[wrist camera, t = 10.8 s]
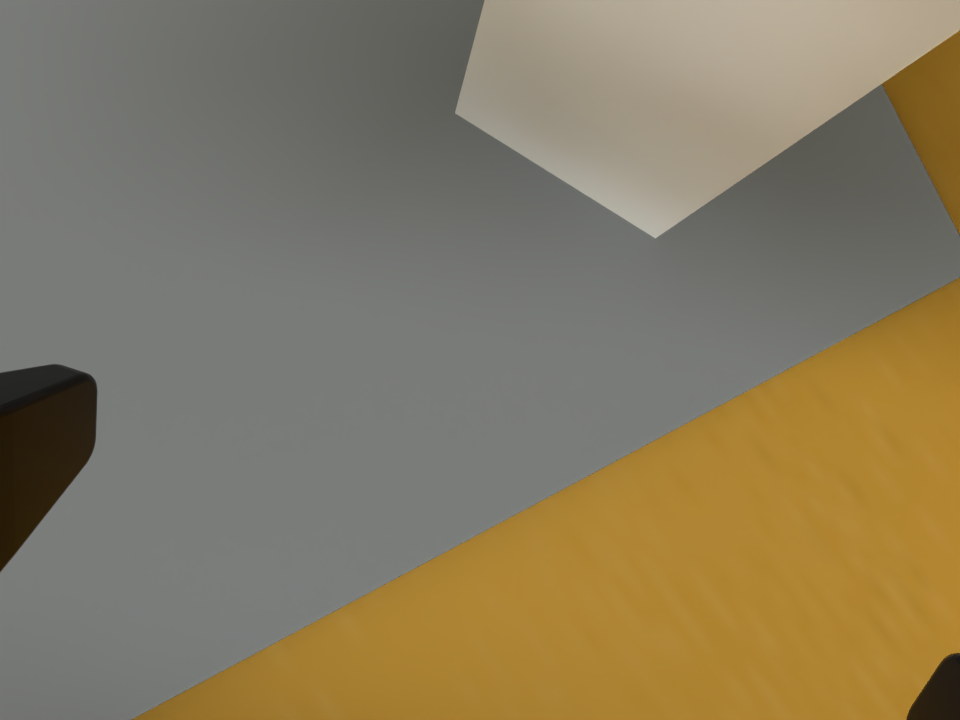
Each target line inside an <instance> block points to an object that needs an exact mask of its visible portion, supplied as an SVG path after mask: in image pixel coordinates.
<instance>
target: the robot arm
mask: <svg viewBox="0 0 960 720" xmlns="http://www.w3.org/2000/svg"><path fill="white" fill-rule="evenodd" d="M97 393H98V391H97V383H96V380H95V379H94V378H93V377H92V376H91V375H90V374H88V373H85V372H82V371H79V370H76V369H73V368H70V367H67V366H64V365H60V364H49V365H43V366H37V367H31V368H25V369H19V370H13V371H7V372H1V373H0V572H1V571H2V570H3V568H4V567H5V566H6V565H7V564H8V563H9V561H10V560H11V559H12V558H13V557H14V555H15V554H16V553H17V552H18V550H19V549H20V548H21V547H22V545H23V544H24V543H25V541H26V540H27V539H28V538H29V536H30V535H31V534H32V533H33V531H34V530H35V529H36V527H37V526H38V525H39V524H40V522H41V521H42V520H43V519H44V517H45V516H46V515H47V513H48V512H49V511H50V510H51V508H52V507H53V506H54V505H55V503H56V502H57V501H58V499H59V498H60V497H61V496H62V494H63V493H64V492H65V491H66V489H67V488H68V487H69V485H70V484H71V483H72V482H73V480H74V479H75V478H76V477H77V475H78V474H79V473H80V471H81V470H82V469H83V468H84V466H85V465H86V464H87V462H88V461H89V459H90V457H91V455H92V453H93V450H94V447H95V442H96V423H97ZM907 720H960V653H955V654H950V655H949V656H947V657H946V658H944V659H943V661H942V662H941V663H940V664H939V666H938V667H937V669H936V670H935V672H934V673H933V675H932V676H931V678H930V679H929V681H928V682H927V684H926V685H925V687H924V688H923V690H922V691H921V693H920V694H919V696H918V697H917V699H916V700H915V702H914V703H913V705H912V706H911V708H910V710H909V713H908V716H907Z"/></svg>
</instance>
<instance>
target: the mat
mask: <svg viewBox="0 0 960 720" xmlns="http://www.w3.org/2000/svg"><path fill="white" fill-rule="evenodd" d="M484 1H485V0H0V373H1V372H7V371H13V370H19V369H25V368H31V367H37V366H43V365H49V364H60V365H64V366H67V367H70V368H73V369H76V370H79V371H82V372H85V373H88V374H90V375H91V376H92V377H93V378H94V379H95V380H96V383H97V391H98V393H97V423H96V442H95V447H94V450H93V453H92V455H91V457H90V459H89V461H88V462H87V464H86V465H85V466H84V468H83V469H82V470H81V471H80V473H79V474H78V475H77V477H76V478H75V479H74V480H73V482H72V483H71V484H70V485H69V487H68V488H67V489H66V491H65V492H64V493H63V494H62V496H61V497H60V498H59V499H58V501H57V502H56V503H55V505H54V506H53V507H52V508H51V510H50V511H49V512H48V513H47V515H46V516H45V517H44V519H43V520H42V521H41V522H40V524H39V525H38V526H37V527H36V529H35V530H34V531H33V533H32V534H31V535H30V536H29V538H28V539H27V540H26V541H25V543H24V544H23V545H22V547H21V548H20V549H19V550H18V552H17V553H16V554H15V555H14V557H13V558H12V559H11V560H10V561H9V563H8V564H7V565H6V566H5V567H4V568H3V570H2V571H1V572H0V720H132V719H133V718H135V717H137V716H139V715H141V714H143V713H145V712H147V711H148V710H150V709H152V708H154V707H156V706H158V705H160V704H162V703H163V702H165V701H167V700H169V699H171V698H173V697H175V696H177V695H178V694H180V693H182V692H184V691H186V690H188V689H190V688H192V687H193V686H195V685H197V684H199V683H201V682H203V681H205V680H207V679H208V678H210V677H212V676H214V675H216V674H218V673H220V672H222V671H223V670H225V669H227V668H229V667H231V666H233V665H235V664H237V663H238V662H240V661H242V660H244V659H246V658H248V657H250V656H252V655H253V654H255V653H257V652H259V651H261V650H263V649H265V648H267V647H268V646H270V645H272V644H274V643H276V642H278V641H280V640H281V639H283V638H285V637H287V636H289V635H291V634H293V633H295V632H296V631H298V630H300V629H302V628H304V627H306V626H308V625H310V624H311V623H313V622H315V621H317V620H319V619H321V618H323V617H325V616H326V615H328V614H330V613H332V612H334V611H336V610H338V609H340V608H341V607H343V606H345V605H347V604H349V603H351V602H353V601H355V600H356V599H358V598H360V597H362V596H364V595H366V594H368V593H370V592H371V591H373V590H375V589H377V588H379V587H381V586H383V585H385V584H386V583H388V582H390V581H392V580H394V579H396V578H398V577H400V576H401V575H403V574H405V573H407V572H409V571H411V570H413V569H415V568H416V567H418V566H420V565H422V564H424V563H426V562H428V561H430V560H431V559H433V558H435V557H437V556H439V555H441V554H443V553H444V552H446V551H448V550H450V549H452V548H454V547H456V546H458V545H459V544H461V543H463V542H465V541H467V540H469V539H471V538H473V537H474V536H476V535H478V534H480V533H482V532H484V531H486V530H488V529H489V528H491V527H493V526H495V525H497V524H499V523H501V522H503V521H504V520H506V519H508V518H510V517H512V516H514V515H516V514H518V513H519V512H521V511H523V510H525V509H527V508H529V507H531V506H533V505H534V504H536V503H538V502H540V501H542V500H544V499H546V498H548V497H549V496H551V495H553V494H555V493H557V492H559V491H561V490H563V489H564V488H566V487H568V486H570V485H572V484H574V483H576V482H578V481H579V480H581V479H583V478H585V477H587V476H589V475H591V474H593V473H594V472H596V471H598V470H600V469H602V468H604V467H606V466H607V465H609V464H611V463H613V462H615V461H617V460H619V459H621V458H622V457H624V456H626V455H628V454H630V453H632V452H634V451H636V450H637V449H639V448H641V447H643V446H645V445H647V444H649V443H651V442H652V441H654V440H656V439H658V438H660V437H662V436H664V435H666V434H667V433H669V432H671V431H673V430H675V429H677V428H679V427H681V426H682V425H684V424H686V423H688V422H690V421H692V420H694V419H696V418H697V417H699V416H701V415H703V414H705V413H707V412H709V411H711V410H712V409H714V408H716V407H718V406H720V405H722V404H724V403H726V402H727V401H729V400H731V399H733V398H735V397H737V396H739V395H741V394H742V393H744V392H746V391H748V390H750V389H752V388H754V387H755V386H757V385H759V384H761V383H763V382H765V381H767V380H769V379H770V378H772V377H774V376H776V375H778V374H780V373H782V372H784V371H785V370H787V369H789V368H791V367H793V366H795V365H797V364H799V363H800V362H802V361H804V360H806V359H808V358H810V357H812V356H814V355H815V354H817V353H819V352H821V351H823V350H825V349H827V348H829V347H830V346H832V345H834V344H836V343H838V342H840V341H842V340H844V339H845V338H847V337H849V336H851V335H853V334H855V333H857V332H859V331H860V330H862V329H864V328H866V327H868V326H870V325H872V324H874V323H875V322H877V321H879V320H881V319H883V318H885V317H887V316H889V315H890V314H892V313H894V312H896V311H898V310H900V309H902V308H904V307H905V306H907V305H909V304H911V303H913V302H915V301H917V300H918V299H920V298H922V297H924V296H926V295H928V294H930V293H932V292H933V291H935V290H937V289H939V288H941V287H943V286H945V285H947V284H948V283H950V282H952V281H954V280H956V279H958V278H960V235H959V233H958V231H957V229H956V227H955V225H954V223H953V221H952V219H951V217H950V216H949V214H948V212H947V210H946V208H945V206H944V204H943V202H942V200H941V198H940V196H939V194H938V192H937V190H936V188H935V186H934V184H933V183H932V181H931V179H930V177H929V175H928V173H927V171H926V169H925V167H924V165H923V163H922V161H921V159H920V157H919V155H918V153H917V151H916V150H915V148H914V146H913V144H912V142H911V140H910V138H909V136H908V134H907V132H906V130H905V128H904V126H903V124H902V122H901V120H900V118H899V117H898V115H897V113H896V111H895V109H894V107H893V105H892V103H891V101H890V99H889V97H888V95H887V93H886V91H885V89H884V87H883V85H882V84H881V85H879V86H878V87H876V88H875V89H873V90H872V91H870V92H869V93H867V94H866V95H865V96H863V97H862V98H860V99H859V100H857V101H856V102H854V103H853V104H851V105H850V106H848V107H847V108H846V109H844V110H843V111H841V112H840V113H838V114H837V115H835V116H834V117H832V118H831V119H829V120H828V121H827V122H825V123H824V124H822V125H821V126H819V127H818V128H816V129H815V130H813V131H812V132H810V133H809V134H808V135H806V136H805V137H803V138H802V139H800V140H799V141H797V142H796V143H794V144H793V145H791V146H790V147H788V148H787V149H786V150H784V151H783V152H781V153H780V154H778V155H777V156H775V157H774V158H772V159H771V160H769V161H768V162H767V163H765V164H764V165H762V166H761V167H759V168H758V169H756V170H755V171H753V172H752V173H750V174H749V175H748V176H746V177H745V178H743V179H742V180H740V181H739V182H737V183H736V184H734V185H733V186H731V187H730V188H729V189H727V190H726V191H724V192H723V193H721V194H720V195H718V196H717V197H715V198H714V199H712V200H711V201H710V202H708V203H707V204H705V205H704V206H702V207H701V208H699V209H698V210H696V211H695V212H693V213H692V214H690V215H689V216H688V217H686V218H685V219H683V220H682V221H680V222H679V223H677V224H676V225H674V226H673V227H671V228H670V229H669V230H667V231H666V232H664V233H663V234H661V235H660V236H658V237H657V238H654V237H652V236H651V235H649V234H647V233H646V232H644V231H643V230H641V229H639V228H638V227H636V226H635V225H633V224H631V223H630V222H628V221H627V220H625V219H623V218H622V217H620V216H619V215H617V214H615V213H614V212H612V211H611V210H609V209H607V208H606V207H604V206H603V205H601V204H599V203H598V202H596V201H595V200H593V199H591V198H590V197H588V196H587V195H585V194H583V193H582V192H580V191H579V190H577V189H575V188H574V187H572V186H571V185H569V184H567V183H566V182H564V181H563V180H561V179H559V178H558V177H556V176H555V175H553V174H551V173H550V172H548V171H547V170H545V169H543V168H542V167H540V166H539V165H537V164H535V163H534V162H532V161H531V160H529V159H527V158H526V157H524V156H523V155H521V154H519V153H518V152H516V151H515V150H513V149H511V148H510V147H508V146H507V145H505V144H503V143H502V142H500V141H499V140H497V139H495V138H494V137H492V136H491V135H489V134H487V133H486V132H484V131H483V130H481V129H479V128H478V127H476V126H475V125H473V124H471V123H470V122H468V121H467V120H465V119H463V118H462V117H460V116H459V115H457V114H455V111H456V107H457V103H458V99H459V95H460V92H461V88H462V84H463V80H464V76H465V73H466V69H467V65H468V61H469V57H470V54H471V50H472V46H473V42H474V38H475V35H476V31H477V27H478V23H479V19H480V16H481V12H482V8H483V4H484Z"/></svg>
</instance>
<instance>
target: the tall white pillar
mask: <svg viewBox="0 0 960 720" xmlns="http://www.w3.org/2000/svg"><path fill="white" fill-rule="evenodd" d="M958 31H960V0H485V1H484V4H483V8H482V12H481V16H480V19H479V23H478V27H477V31H476V35H475V38H474V42H473V46H472V50H471V54H470V57H469V61H468V65H467V69H466V73H465V76H464V80H463V84H462V88H461V92H460V95H459V99H458V103H457V107H456V111H455V114H457V115H459V116H460V117H462V118H463V119H465V120H467V121H468V122H470V123H471V124H473V125H475V126H476V127H478V128H479V129H481V130H483V131H484V132H486V133H487V134H489V135H491V136H492V137H494V138H495V139H497V140H499V141H500V142H502V143H503V144H505V145H507V146H508V147H510V148H511V149H513V150H515V151H516V152H518V153H519V154H521V155H523V156H524V157H526V158H527V159H529V160H531V161H532V162H534V163H535V164H537V165H539V166H540V167H542V168H543V169H545V170H547V171H548V172H550V173H551V174H553V175H555V176H556V177H558V178H559V179H561V180H563V181H564V182H566V183H567V184H569V185H571V186H572V187H574V188H575V189H577V190H579V191H580V192H582V193H583V194H585V195H587V196H588V197H590V198H591V199H593V200H595V201H596V202H598V203H599V204H601V205H603V206H604V207H606V208H607V209H609V210H611V211H612V212H614V213H615V214H617V215H619V216H620V217H622V218H623V219H625V220H627V221H628V222H630V223H631V224H633V225H635V226H636V227H638V228H639V229H641V230H643V231H644V232H646V233H647V234H649V235H651V236H652V237H654V238H657V237H658V236H660V235H661V234H663V233H664V232H666V231H667V230H669V229H670V228H671V227H673V226H674V225H676V224H677V223H679V222H680V221H682V220H683V219H685V218H686V217H688V216H689V215H690V214H692V213H693V212H695V211H696V210H698V209H699V208H701V207H702V206H704V205H705V204H707V203H708V202H710V201H711V200H712V199H714V198H715V197H717V196H718V195H720V194H721V193H723V192H724V191H726V190H727V189H729V188H730V187H731V186H733V185H734V184H736V183H737V182H739V181H740V180H742V179H743V178H745V177H746V176H748V175H749V174H750V173H752V172H753V171H755V170H756V169H758V168H759V167H761V166H762V165H764V164H765V163H767V162H768V161H769V160H771V159H772V158H774V157H775V156H777V155H778V154H780V153H781V152H783V151H784V150H786V149H787V148H788V147H790V146H791V145H793V144H794V143H796V142H797V141H799V140H800V139H802V138H803V137H805V136H806V135H808V134H809V133H810V132H812V131H813V130H815V129H816V128H818V127H819V126H821V125H822V124H824V123H825V122H827V121H828V120H829V119H831V118H832V117H834V116H835V115H837V114H838V113H840V112H841V111H843V110H844V109H846V108H847V107H848V106H850V105H851V104H853V103H854V102H856V101H857V100H859V99H860V98H862V97H863V96H865V95H866V94H867V93H869V92H870V91H872V90H873V89H875V88H876V87H878V86H879V85H881V84H882V83H884V82H885V81H887V80H888V79H889V78H891V77H892V76H894V75H895V74H897V73H898V72H900V71H901V70H903V69H904V68H906V67H907V66H908V65H910V64H911V63H913V62H914V61H916V60H917V59H919V58H920V57H922V56H923V55H925V54H926V53H927V52H929V51H930V50H932V49H933V48H935V47H936V46H938V45H939V44H941V43H942V42H944V41H945V40H946V39H948V38H949V37H951V36H952V35H954V34H955V33H957V32H958Z"/></svg>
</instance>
